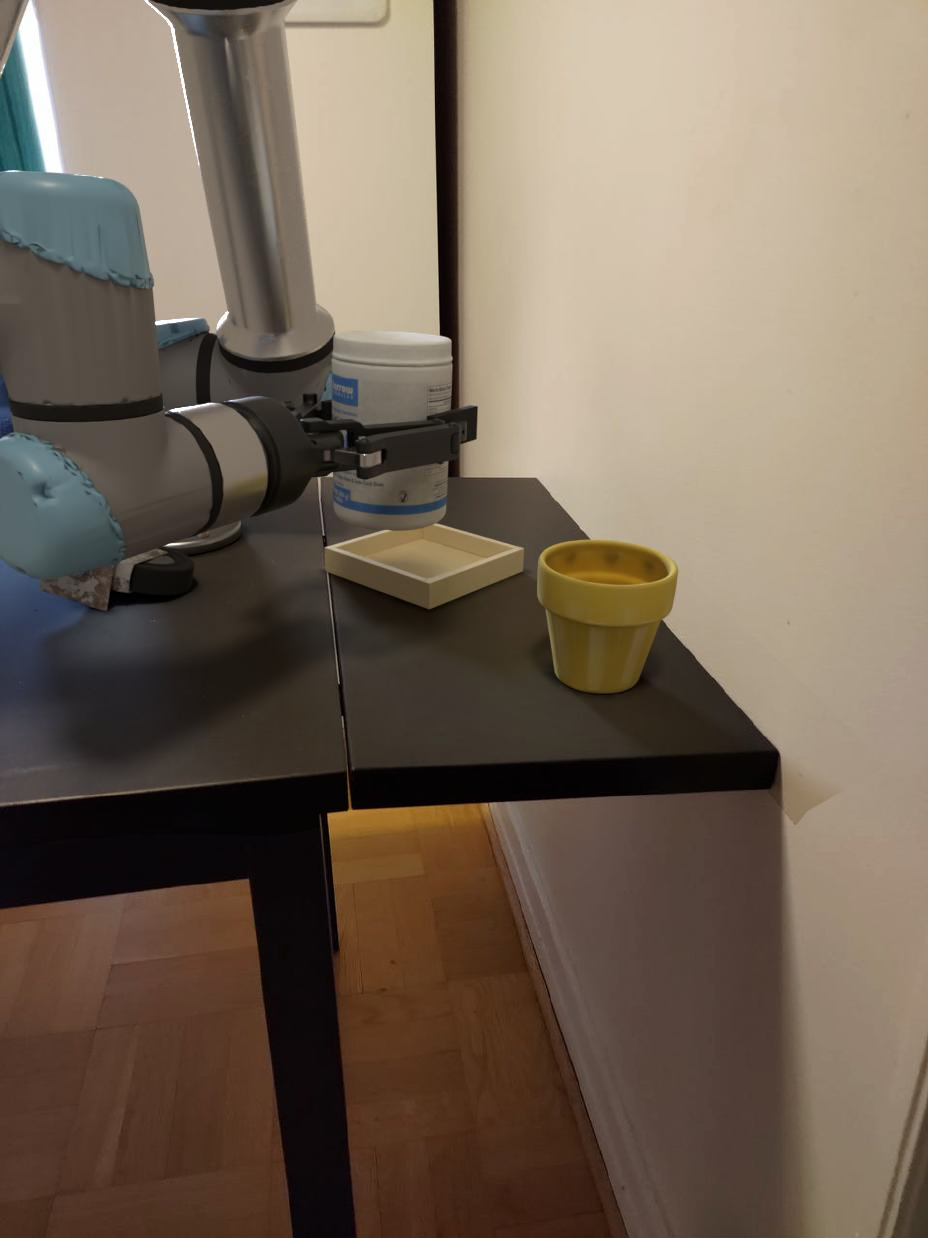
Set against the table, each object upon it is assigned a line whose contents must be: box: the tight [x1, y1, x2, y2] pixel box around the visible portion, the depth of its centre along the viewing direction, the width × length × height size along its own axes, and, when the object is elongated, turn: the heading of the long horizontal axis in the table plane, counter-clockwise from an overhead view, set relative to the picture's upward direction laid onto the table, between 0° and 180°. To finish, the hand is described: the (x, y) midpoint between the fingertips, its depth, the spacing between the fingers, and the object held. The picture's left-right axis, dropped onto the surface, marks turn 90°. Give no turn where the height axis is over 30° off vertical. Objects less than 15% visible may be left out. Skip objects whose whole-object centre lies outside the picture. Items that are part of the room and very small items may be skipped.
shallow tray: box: [324, 522, 525, 610], centre depth 88 cm, size 15×15×3 cm
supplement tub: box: [331, 330, 454, 531], centre depth 69 cm, size 10×10×15 cm
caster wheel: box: [39, 546, 196, 612], centre depth 80 cm, size 7×11×10 cm
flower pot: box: [536, 539, 679, 695], centre depth 66 cm, size 10×10×10 cm
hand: (421, 414), depth 72 cm, fingers closed on supplement tub, 10 cm apart
